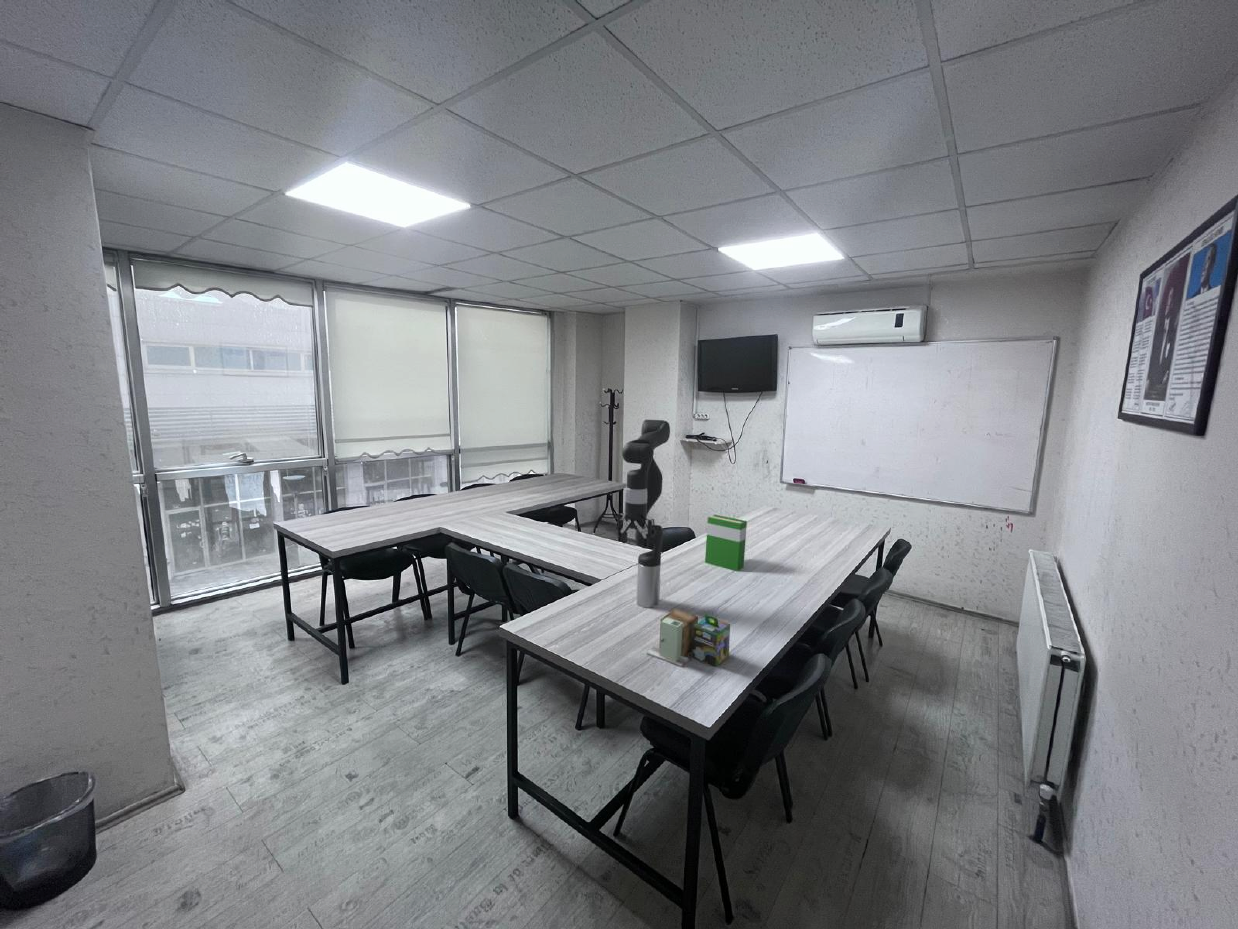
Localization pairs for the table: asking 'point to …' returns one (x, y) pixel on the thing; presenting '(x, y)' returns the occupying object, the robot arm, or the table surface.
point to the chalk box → (711, 640)
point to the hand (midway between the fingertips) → (634, 545)
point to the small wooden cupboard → (687, 636)
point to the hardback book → (726, 542)
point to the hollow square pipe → (671, 639)
